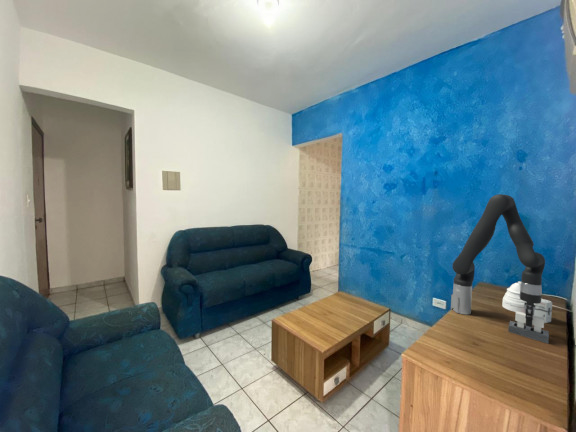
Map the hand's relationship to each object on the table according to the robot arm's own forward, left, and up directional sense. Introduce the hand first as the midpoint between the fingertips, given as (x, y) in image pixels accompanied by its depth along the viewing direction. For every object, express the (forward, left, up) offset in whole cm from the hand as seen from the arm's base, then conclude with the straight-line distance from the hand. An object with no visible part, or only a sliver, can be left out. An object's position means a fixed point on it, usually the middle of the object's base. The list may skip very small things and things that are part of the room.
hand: (528, 324), depth 118 cm
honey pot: (+21, +30, -6) cm, 37 cm away
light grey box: (0, 0, -2) cm, 2 cm away
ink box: (+22, +17, -6) cm, 28 cm away
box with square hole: (0, 0, -5) cm, 5 cm away
